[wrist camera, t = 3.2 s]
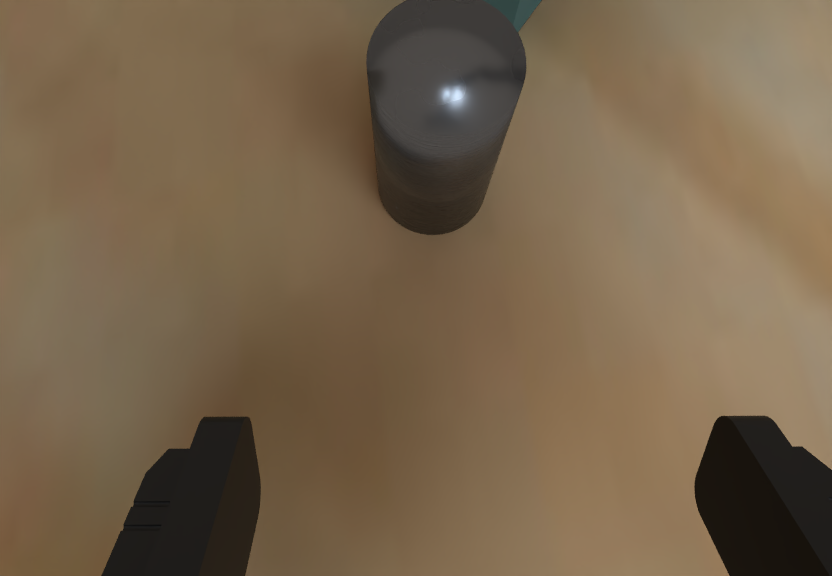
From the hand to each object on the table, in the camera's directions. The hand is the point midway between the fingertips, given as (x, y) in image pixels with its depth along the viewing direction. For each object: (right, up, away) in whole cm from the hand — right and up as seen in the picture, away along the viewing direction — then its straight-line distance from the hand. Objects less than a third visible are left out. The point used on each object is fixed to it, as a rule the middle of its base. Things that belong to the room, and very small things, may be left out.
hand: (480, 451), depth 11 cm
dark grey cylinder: (0, +8, +19) cm, 20 cm away
